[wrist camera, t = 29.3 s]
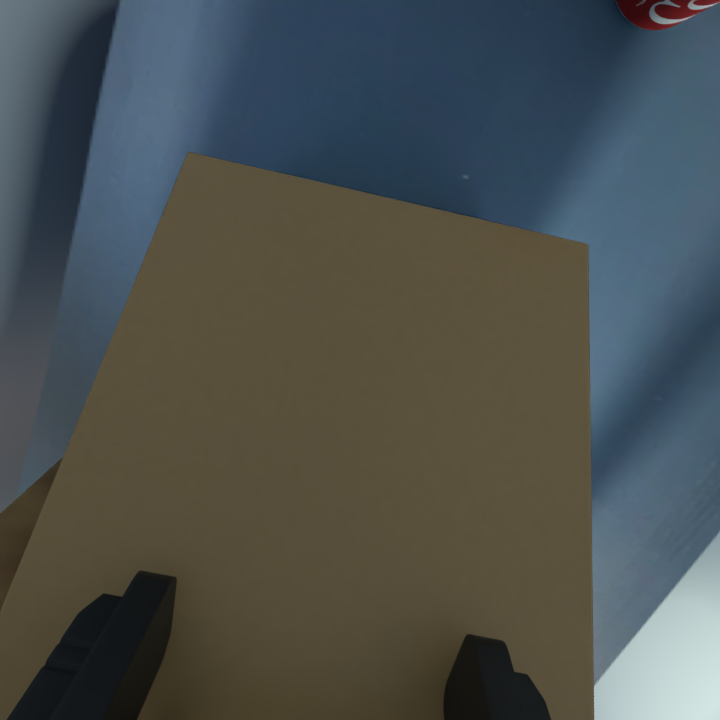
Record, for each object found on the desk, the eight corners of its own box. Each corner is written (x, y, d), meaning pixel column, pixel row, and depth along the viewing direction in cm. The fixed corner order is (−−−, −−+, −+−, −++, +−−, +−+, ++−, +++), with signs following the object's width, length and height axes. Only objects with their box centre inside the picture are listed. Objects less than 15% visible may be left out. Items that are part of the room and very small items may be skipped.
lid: (576, 937, 10) (795, 1222, 6) (-75, 841, 10) (-391, 1084, 5) (576, 256, 17) (678, 148, 12) (191, 168, 16) (155, 19, 12)
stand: (112, 500, 38) (-190, 873, 18) (117, 407, 36) (-229, 717, 15) (215, 519, 39) (40, 906, 18) (228, 429, 36) (42, 760, 15)
